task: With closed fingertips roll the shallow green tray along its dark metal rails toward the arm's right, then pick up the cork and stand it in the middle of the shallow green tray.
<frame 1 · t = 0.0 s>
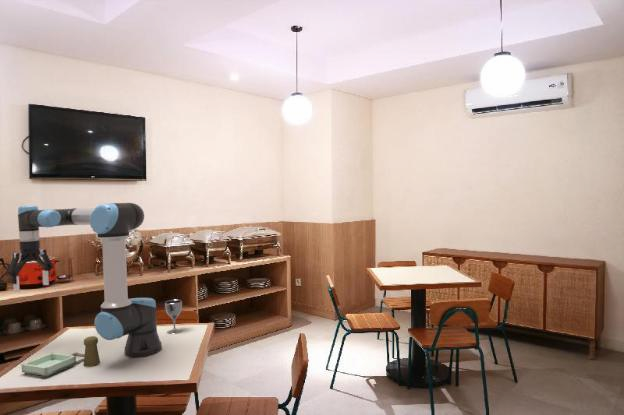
hand: (31, 288, 195), 28 cm above the table, fingers open, 13 cm apart
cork: (91, 364, 177), on the table
rails: (61, 365, 176), on the table
wine glass: (174, 331, 217), on the table
shallow green tray: (49, 363, 171), point 2 cm above the table, slide at 0.0 cm
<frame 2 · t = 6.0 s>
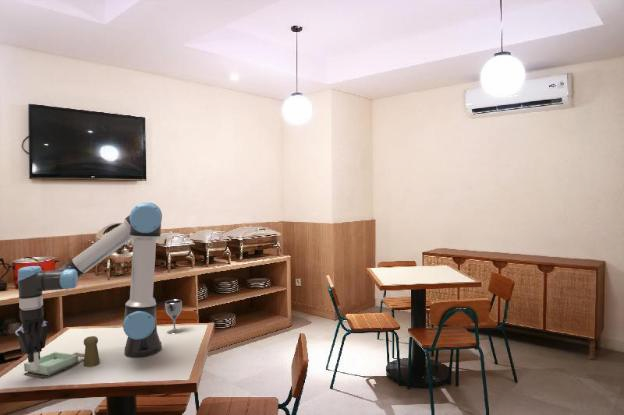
hand: (34, 369, 166), 3 cm above the table, fingers closed
shallow green tray: (51, 362, 172), point 2 cm above the table, slide at 1.1 cm, touching gripper
everything else where it was.
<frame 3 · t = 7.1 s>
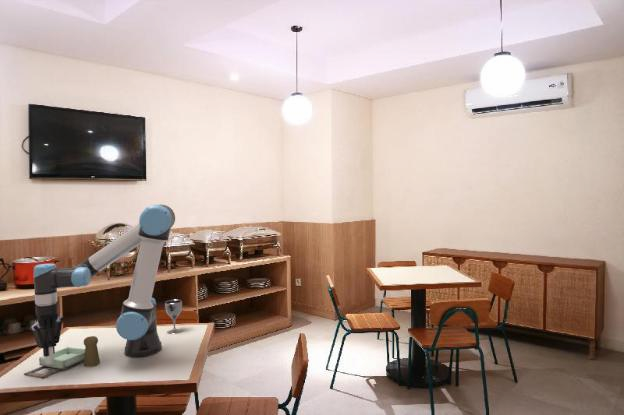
hand: (49, 363, 171), 3 cm above the table, fingers closed
shallow green tray: (65, 357, 178), point 3 cm above the table, slide at 7.2 cm, touching gripper
everything else where it was.
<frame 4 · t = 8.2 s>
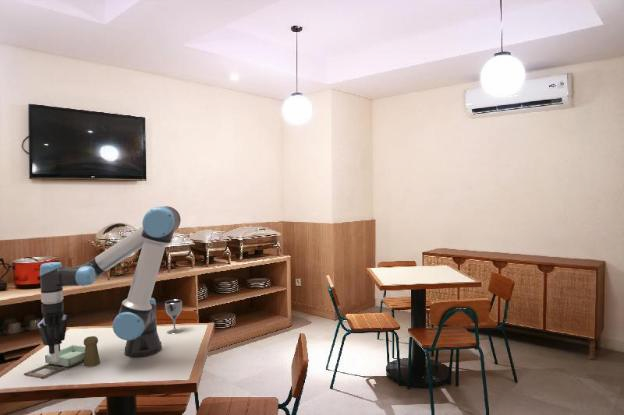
hand: (55, 360, 174), 3 cm above the table, fingers closed
shallow green tray: (71, 355, 180), point 2 cm above the table, slide at 9.7 cm, touching gripper
everything else where it was.
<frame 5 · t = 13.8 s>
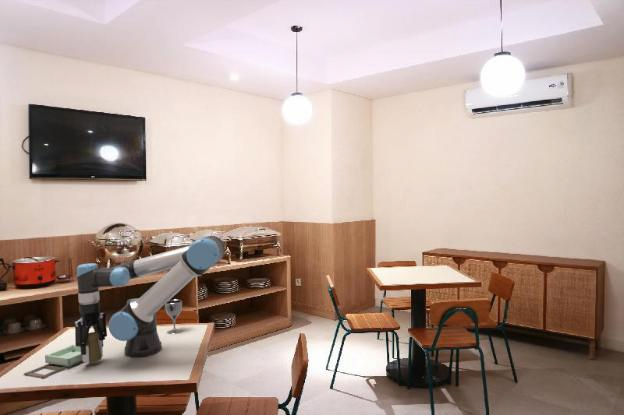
hand: (93, 358, 177), 2 cm above the table, fingers closed on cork, 6 cm apart
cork: (93, 360, 177), point 1 cm above the table, touching gripper
shallow green tray: (71, 355, 180), point 3 cm above the table, slide at 9.7 cm
everything else where it was.
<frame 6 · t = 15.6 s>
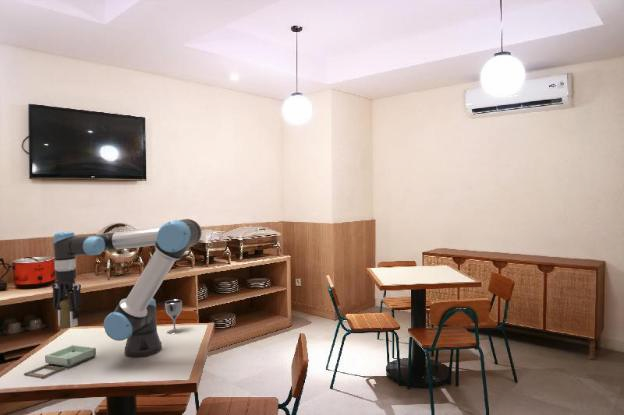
hand: (68, 325, 179), 15 cm above the table, fingers closed on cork, 6 cm apart
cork: (67, 326, 179), point 15 cm above the table, touching gripper
everything else where it was.
when the fingers open (4 cm above the table, at t = 17.7 s): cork drops 2 cm, resting on shallow green tray.
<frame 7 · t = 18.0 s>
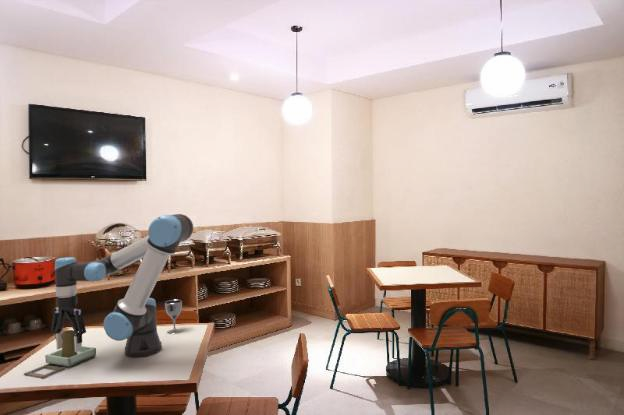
hand: (69, 349, 180), 5 cm above the table, fingers open, 9 cm apart
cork: (69, 357, 180), point 2 cm above the table, touching shallow green tray
shallow green tray: (71, 355, 181), point 2 cm above the table, slide at 9.8 cm, touching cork
everything else where it was.
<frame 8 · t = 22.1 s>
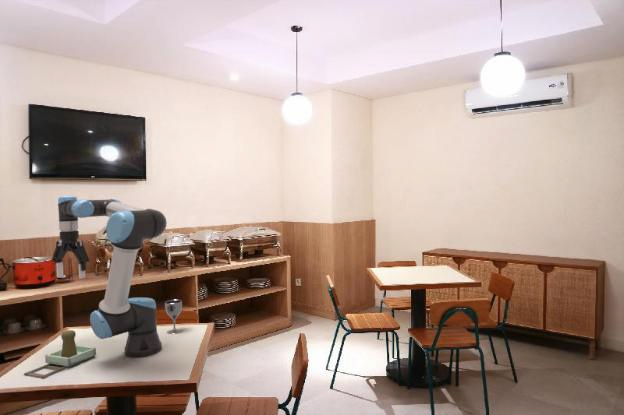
hand: (71, 277, 197), 32 cm above the table, fingers open, 13 cm apart
nothing on the table moved.
at the end: shallow green tray slide at 9.8 cm; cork inside the target area on the shallow green tray (0.9 cm from its centre), point 1.6 cm above the shallow green tray's base; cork tilted 0° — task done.
